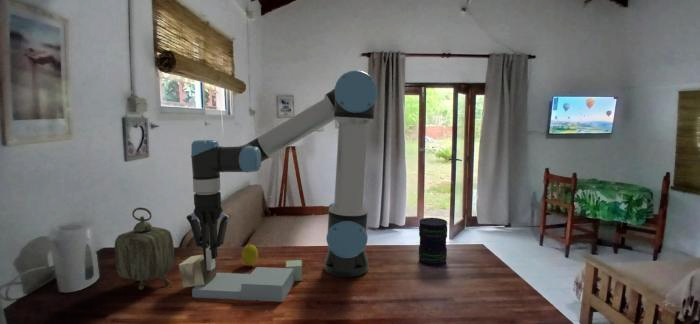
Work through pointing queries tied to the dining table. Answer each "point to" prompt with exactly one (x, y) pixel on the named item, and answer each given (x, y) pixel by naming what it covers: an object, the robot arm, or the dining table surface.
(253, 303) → the dining table surface
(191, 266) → the birch cube
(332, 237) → the robot arm
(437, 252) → the storage jar
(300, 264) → the sage cube
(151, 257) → the tabletop clock
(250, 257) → the lemon
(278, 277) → the stair
